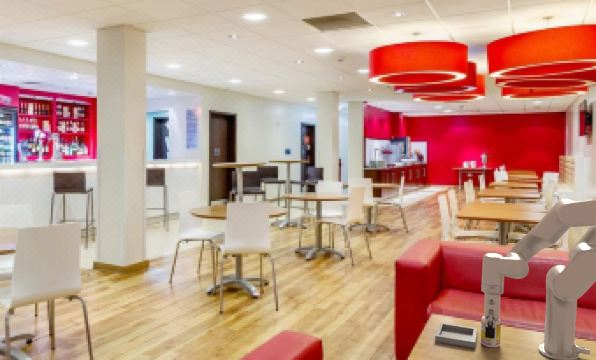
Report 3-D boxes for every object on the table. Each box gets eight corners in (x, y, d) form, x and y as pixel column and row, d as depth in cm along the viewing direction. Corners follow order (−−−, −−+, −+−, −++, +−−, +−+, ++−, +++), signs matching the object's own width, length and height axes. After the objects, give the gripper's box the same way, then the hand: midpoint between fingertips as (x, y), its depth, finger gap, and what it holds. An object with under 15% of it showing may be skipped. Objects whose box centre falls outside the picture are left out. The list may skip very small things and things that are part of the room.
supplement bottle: (496, 340, 182) (498, 307, 180) (502, 348, 175) (503, 314, 174) (478, 340, 182) (479, 307, 181) (483, 347, 176) (484, 313, 174)
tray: (477, 334, 187) (477, 328, 187) (474, 348, 175) (475, 342, 174) (439, 328, 193) (440, 322, 193) (435, 342, 180) (435, 335, 180)
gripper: (503, 296, 167) (500, 344, 169) (503, 282, 183) (501, 326, 185) (480, 293, 170) (478, 340, 172) (482, 279, 186) (480, 323, 188)
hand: (490, 332), depth 178 cm, fingers open, 8 cm apart
